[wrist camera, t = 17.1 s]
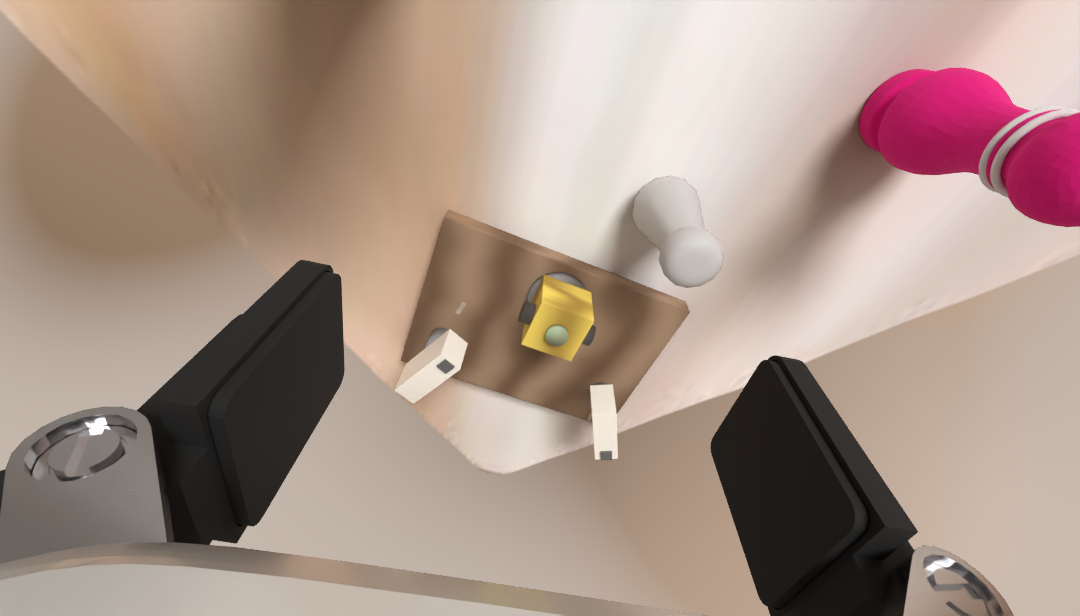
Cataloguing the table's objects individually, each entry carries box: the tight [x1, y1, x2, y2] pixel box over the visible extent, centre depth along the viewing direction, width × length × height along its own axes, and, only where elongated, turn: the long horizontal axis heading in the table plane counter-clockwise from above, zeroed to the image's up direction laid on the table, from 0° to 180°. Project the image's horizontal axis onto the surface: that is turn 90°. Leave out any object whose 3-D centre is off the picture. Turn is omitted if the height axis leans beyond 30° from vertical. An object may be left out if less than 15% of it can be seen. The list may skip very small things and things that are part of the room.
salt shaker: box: [632, 176, 724, 288], centre depth 37 cm, size 6×6×13 cm
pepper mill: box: [859, 68, 1080, 227], centre depth 29 cm, size 7×7×20 cm
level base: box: [401, 210, 690, 422], centre depth 47 cm, size 26×19×9 cm
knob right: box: [590, 382, 618, 460], centre depth 50 cm, size 7×3×7 cm, turn 6°
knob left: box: [394, 328, 468, 404], centre depth 46 cm, size 7×3×7 cm, turn 132°
